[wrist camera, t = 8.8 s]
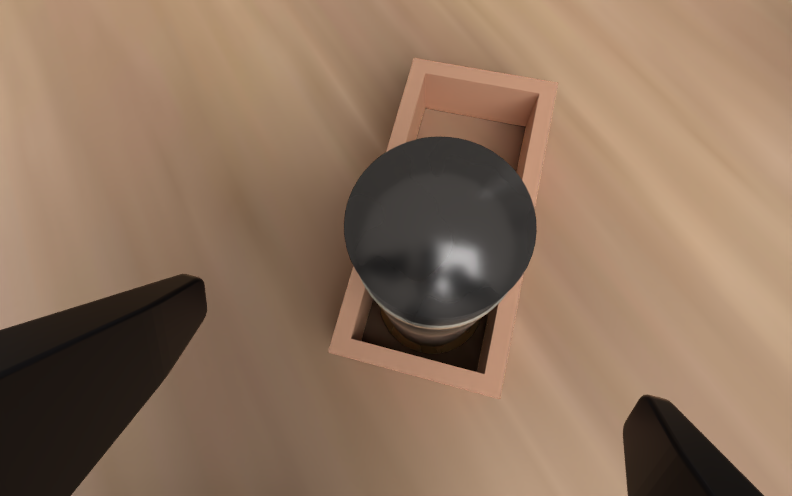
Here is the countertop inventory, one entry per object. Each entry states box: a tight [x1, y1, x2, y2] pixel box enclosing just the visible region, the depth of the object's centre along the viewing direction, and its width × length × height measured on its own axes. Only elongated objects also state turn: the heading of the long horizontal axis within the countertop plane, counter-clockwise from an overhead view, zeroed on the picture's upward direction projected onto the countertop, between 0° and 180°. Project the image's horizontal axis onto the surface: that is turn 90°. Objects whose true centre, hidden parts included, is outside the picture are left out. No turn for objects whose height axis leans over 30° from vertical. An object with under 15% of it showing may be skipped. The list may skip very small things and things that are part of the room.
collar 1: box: [386, 58, 558, 210], centre depth 22 cm, size 7×7×3 cm
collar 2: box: [328, 266, 524, 399], centre depth 20 cm, size 7×7×3 cm
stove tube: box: [344, 137, 537, 347], centre depth 15 cm, size 4×4×12 cm
